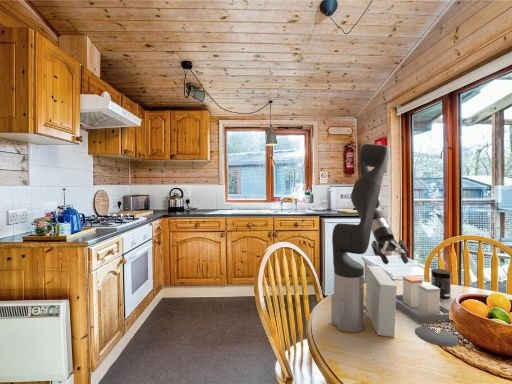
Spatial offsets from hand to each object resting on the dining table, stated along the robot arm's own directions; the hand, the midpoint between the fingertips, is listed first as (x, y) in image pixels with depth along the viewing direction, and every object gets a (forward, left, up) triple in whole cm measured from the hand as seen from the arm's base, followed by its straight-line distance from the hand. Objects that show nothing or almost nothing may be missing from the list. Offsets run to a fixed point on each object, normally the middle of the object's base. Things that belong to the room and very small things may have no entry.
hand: (396, 263), depth 115 cm
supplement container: (+17, -5, -14) cm, 22 cm away
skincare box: (-20, -17, -14) cm, 30 cm away
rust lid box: (-1, -9, -13) cm, 16 cm away
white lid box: (-1, -18, -13) cm, 22 cm away
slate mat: (-10, -30, -14) cm, 34 cm away
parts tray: (-1, -14, -14) cm, 19 cm away
